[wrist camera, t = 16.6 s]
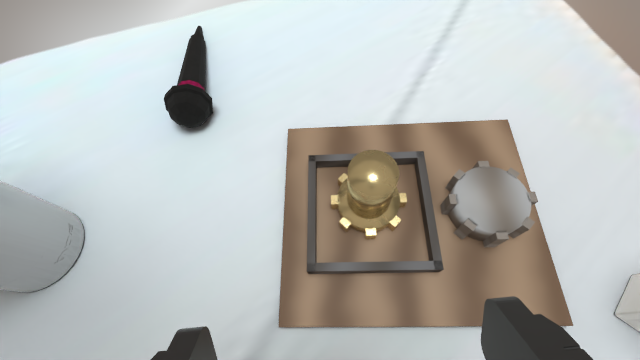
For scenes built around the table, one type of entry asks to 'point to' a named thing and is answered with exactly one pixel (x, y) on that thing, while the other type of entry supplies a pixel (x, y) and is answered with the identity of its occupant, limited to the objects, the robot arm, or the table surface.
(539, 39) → the table surface
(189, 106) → the microphone
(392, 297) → the carrier plate
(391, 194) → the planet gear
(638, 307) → the ink cartridge box
